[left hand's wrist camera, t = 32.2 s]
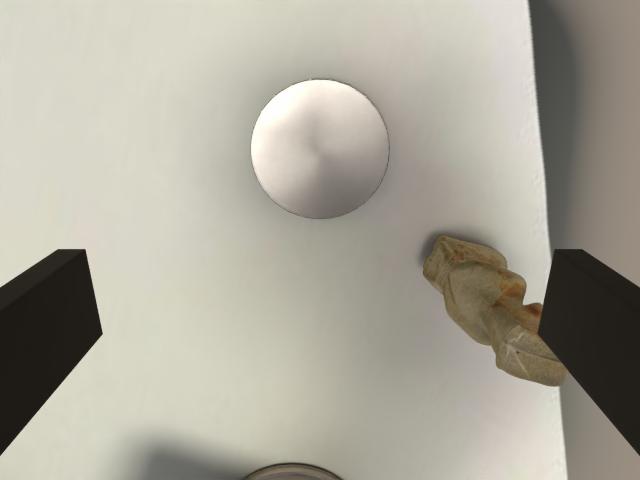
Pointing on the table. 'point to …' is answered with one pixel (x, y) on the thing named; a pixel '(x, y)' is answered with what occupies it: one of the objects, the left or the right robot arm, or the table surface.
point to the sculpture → (493, 308)
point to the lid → (319, 149)
